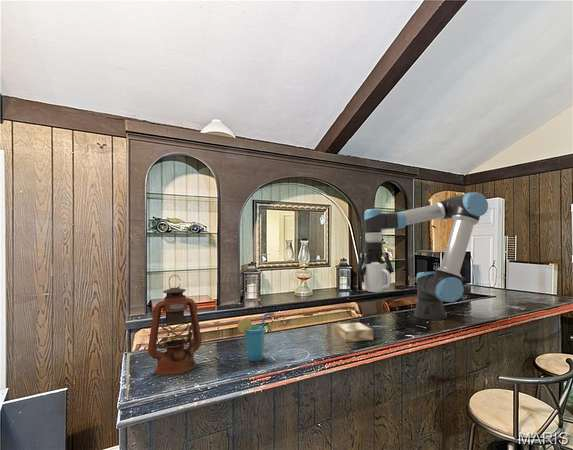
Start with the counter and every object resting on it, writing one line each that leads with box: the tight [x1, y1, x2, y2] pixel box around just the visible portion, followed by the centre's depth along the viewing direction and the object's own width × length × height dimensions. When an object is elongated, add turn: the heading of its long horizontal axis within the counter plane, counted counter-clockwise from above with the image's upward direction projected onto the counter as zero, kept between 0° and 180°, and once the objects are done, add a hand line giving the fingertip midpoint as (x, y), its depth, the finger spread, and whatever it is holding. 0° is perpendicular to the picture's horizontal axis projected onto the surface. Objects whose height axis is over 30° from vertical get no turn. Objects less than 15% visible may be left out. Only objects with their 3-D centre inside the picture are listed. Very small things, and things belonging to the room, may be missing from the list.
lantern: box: [147, 274, 203, 376], centre depth 105 cm, size 17×13×30 cm
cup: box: [236, 312, 275, 362], centre depth 111 cm, size 14×8×15 cm, turn 123°
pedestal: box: [334, 322, 374, 343], centre depth 134 cm, size 12×12×4 cm
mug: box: [362, 262, 392, 293], centre depth 149 cm, size 15×11×13 cm
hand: (375, 288), depth 150 cm, fingers closed on mug, 11 cm apart
